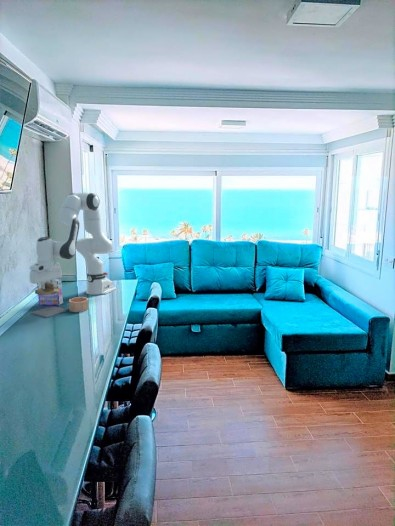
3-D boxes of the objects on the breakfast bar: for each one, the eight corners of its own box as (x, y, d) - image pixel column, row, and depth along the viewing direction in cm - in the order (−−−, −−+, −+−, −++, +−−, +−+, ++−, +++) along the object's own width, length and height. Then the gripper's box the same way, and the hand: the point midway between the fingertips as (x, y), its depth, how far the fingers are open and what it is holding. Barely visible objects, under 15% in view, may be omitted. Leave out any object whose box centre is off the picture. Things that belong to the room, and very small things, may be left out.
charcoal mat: (51, 306, 231) (51, 305, 230) (68, 310, 223) (68, 309, 223) (30, 313, 218) (30, 312, 218) (47, 317, 211) (47, 316, 210)
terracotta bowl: (79, 305, 234) (79, 296, 233) (92, 308, 228) (91, 298, 227) (65, 310, 224) (65, 300, 223) (78, 313, 219) (78, 303, 218)
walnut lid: (49, 287, 227) (49, 280, 226) (65, 290, 221) (65, 283, 220) (29, 292, 215) (29, 285, 214) (45, 296, 209) (45, 288, 208)
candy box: (63, 303, 238) (61, 278, 235) (59, 305, 232) (57, 280, 229) (43, 302, 239) (41, 277, 236) (38, 305, 234) (36, 280, 230)
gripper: (56, 261, 225) (58, 283, 228) (27, 267, 208) (29, 291, 210) (63, 262, 222) (65, 284, 225) (34, 268, 205) (36, 292, 207)
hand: (47, 287), depth 218 cm, fingers closed on walnut lid, 3 cm apart
